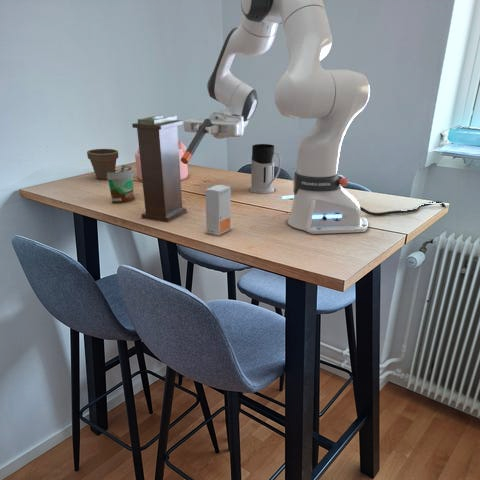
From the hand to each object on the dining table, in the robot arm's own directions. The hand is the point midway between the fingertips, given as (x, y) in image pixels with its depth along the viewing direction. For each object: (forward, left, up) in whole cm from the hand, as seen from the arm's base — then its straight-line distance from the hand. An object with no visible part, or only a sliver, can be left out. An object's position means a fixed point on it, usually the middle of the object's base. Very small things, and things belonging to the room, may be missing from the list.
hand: (202, 129), depth 151 cm
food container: (+25, +9, -21) cm, 34 cm away
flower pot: (+42, -21, -21) cm, 51 cm away
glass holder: (-21, -5, -21) cm, 30 cm away
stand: (+9, +24, -21) cm, 33 cm away
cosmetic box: (-9, +38, -21) cm, 44 cm away
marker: (+1, +4, -3) cm, 5 cm away
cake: (+20, -24, -21) cm, 38 cm away
